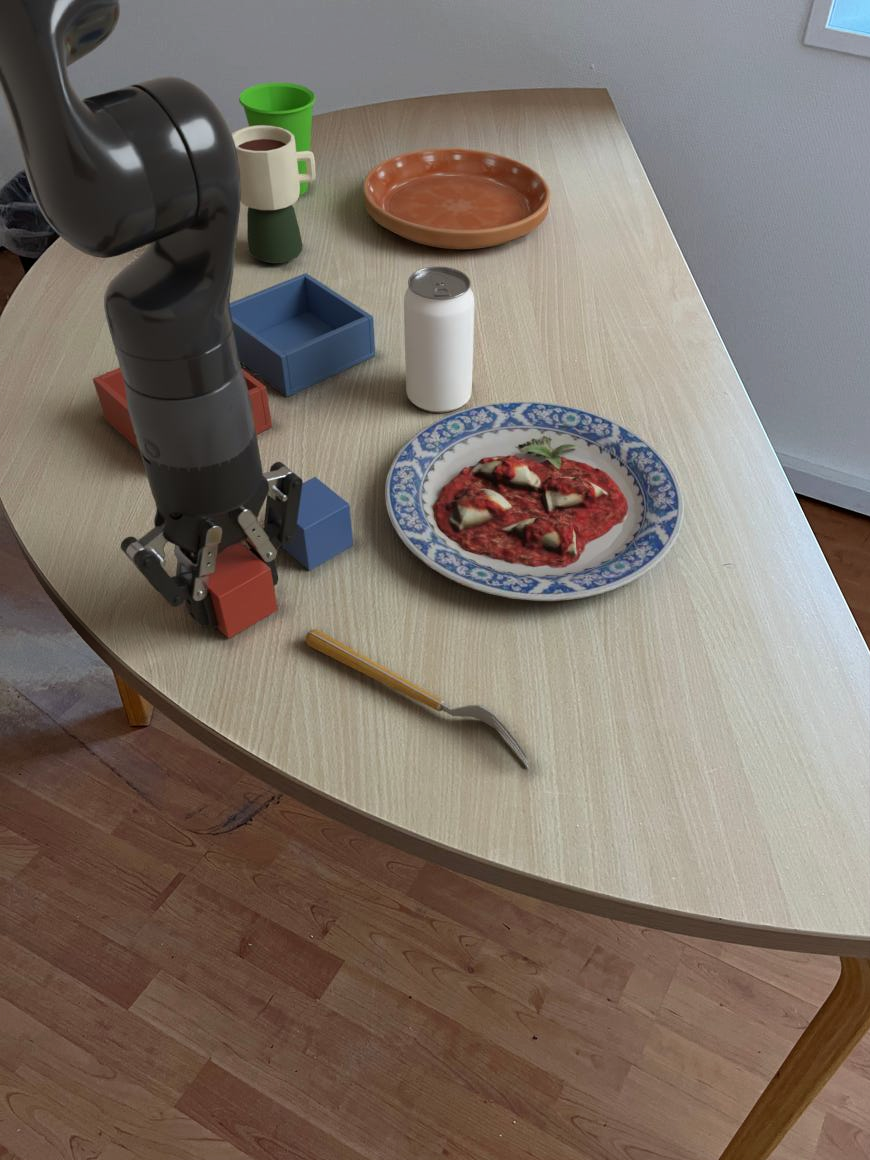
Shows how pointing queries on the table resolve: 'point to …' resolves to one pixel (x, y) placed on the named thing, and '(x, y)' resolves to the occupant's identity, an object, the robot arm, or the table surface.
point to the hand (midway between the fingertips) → (236, 604)
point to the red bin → (118, 415)
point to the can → (439, 339)
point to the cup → (282, 113)
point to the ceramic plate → (534, 501)
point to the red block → (241, 589)
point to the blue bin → (300, 333)
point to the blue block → (320, 525)
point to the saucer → (456, 197)
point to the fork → (403, 684)
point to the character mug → (271, 190)
